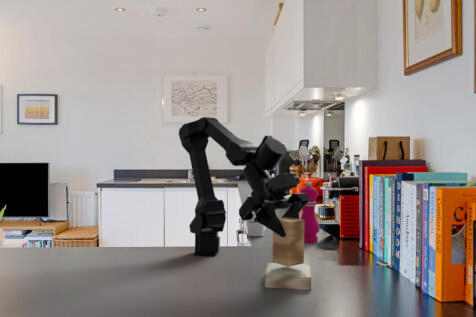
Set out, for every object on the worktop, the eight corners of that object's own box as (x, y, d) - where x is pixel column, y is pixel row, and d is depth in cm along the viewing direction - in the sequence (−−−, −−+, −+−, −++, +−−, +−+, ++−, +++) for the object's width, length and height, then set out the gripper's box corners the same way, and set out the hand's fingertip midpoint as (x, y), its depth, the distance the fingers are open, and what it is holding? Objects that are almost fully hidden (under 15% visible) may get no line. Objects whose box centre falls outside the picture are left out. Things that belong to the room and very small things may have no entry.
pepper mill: (320, 240, 143) (321, 181, 142) (317, 244, 136) (318, 182, 135) (299, 238, 145) (300, 180, 145) (295, 242, 138) (296, 182, 138)
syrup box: (263, 236, 147) (264, 195, 147) (247, 235, 148) (247, 195, 148) (265, 233, 153) (266, 193, 153) (249, 232, 154) (250, 193, 154)
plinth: (264, 287, 92) (265, 273, 92) (267, 274, 102) (267, 262, 102) (311, 289, 91) (311, 276, 91) (309, 276, 101) (309, 263, 101)
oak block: (288, 266, 93) (288, 221, 93) (272, 261, 97) (273, 218, 97) (303, 263, 96) (304, 219, 96) (288, 258, 100) (288, 216, 100)
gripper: (247, 160, 93) (281, 217, 85) (304, 160, 105) (339, 209, 96) (225, 193, 100) (255, 248, 91) (282, 189, 111) (313, 238, 103)
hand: (292, 235), depth 95 cm, fingers closed on oak block, 5 cm apart
